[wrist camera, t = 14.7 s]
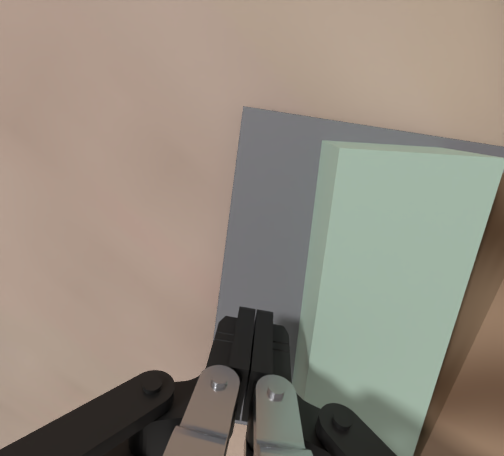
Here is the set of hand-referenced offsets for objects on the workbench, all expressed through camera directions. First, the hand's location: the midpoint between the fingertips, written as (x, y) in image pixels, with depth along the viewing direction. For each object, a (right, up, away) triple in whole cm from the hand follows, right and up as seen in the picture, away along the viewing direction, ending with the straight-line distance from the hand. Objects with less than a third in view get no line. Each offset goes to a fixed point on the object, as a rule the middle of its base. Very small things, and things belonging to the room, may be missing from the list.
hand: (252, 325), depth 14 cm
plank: (+5, 0, +2) cm, 6 cm away
